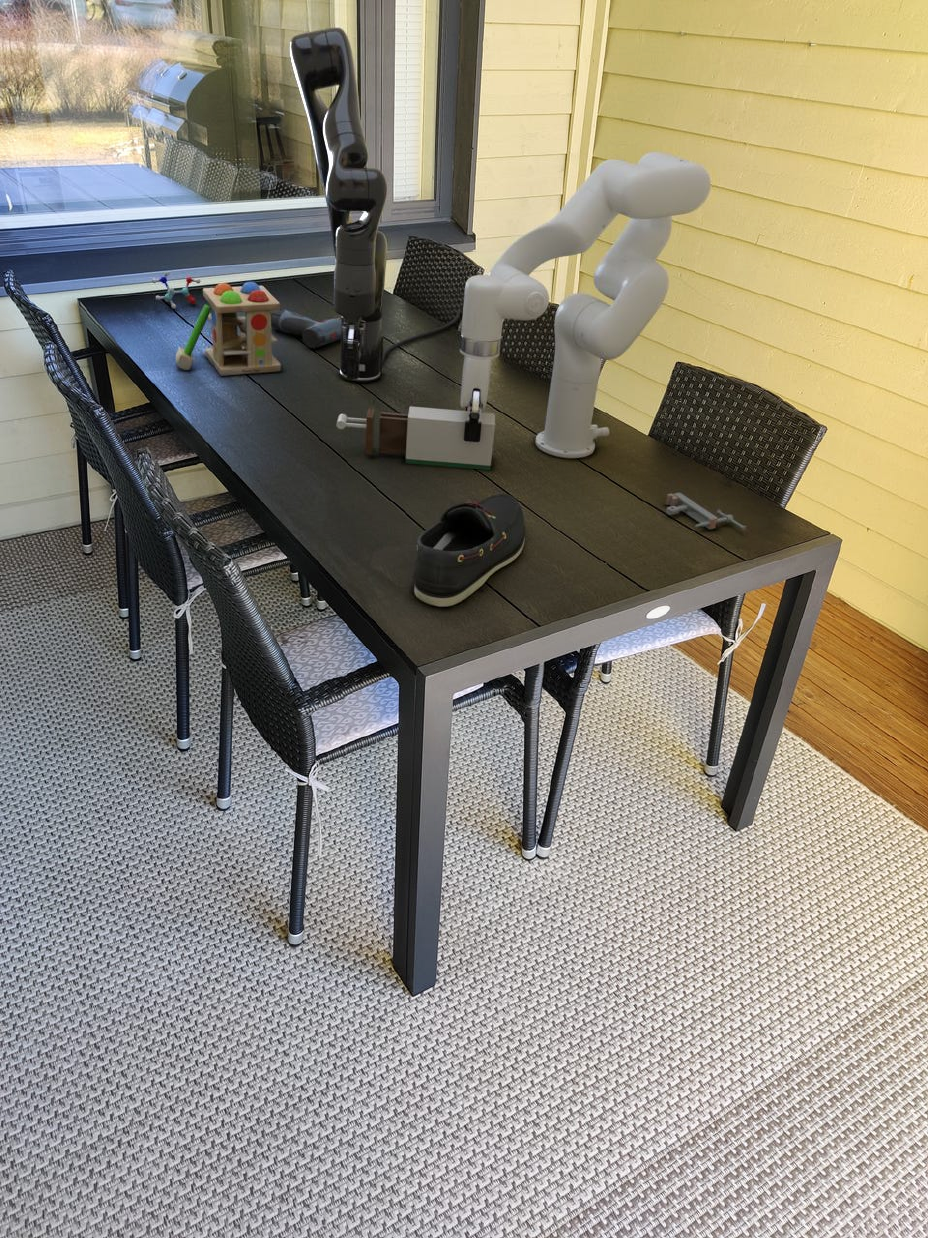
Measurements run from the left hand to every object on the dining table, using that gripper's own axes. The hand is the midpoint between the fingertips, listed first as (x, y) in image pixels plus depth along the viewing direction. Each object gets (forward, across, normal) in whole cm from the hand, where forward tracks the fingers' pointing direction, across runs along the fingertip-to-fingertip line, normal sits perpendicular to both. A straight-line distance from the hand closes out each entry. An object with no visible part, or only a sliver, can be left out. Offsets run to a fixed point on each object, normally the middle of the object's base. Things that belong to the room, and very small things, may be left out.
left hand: (352, 377), depth 188 cm
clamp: (+16, +17, +67) cm, 71 cm away
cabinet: (+16, 0, +20) cm, 25 cm away
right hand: (+9, 0, +24) cm, 26 cm away
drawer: (+15, 0, +8) cm, 17 cm away
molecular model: (+16, -84, -57) cm, 102 cm away
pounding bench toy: (+16, -42, -34) cm, 56 cm away
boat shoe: (+16, +39, +24) cm, 48 cm away
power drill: (+16, -69, -18) cm, 73 cm away
